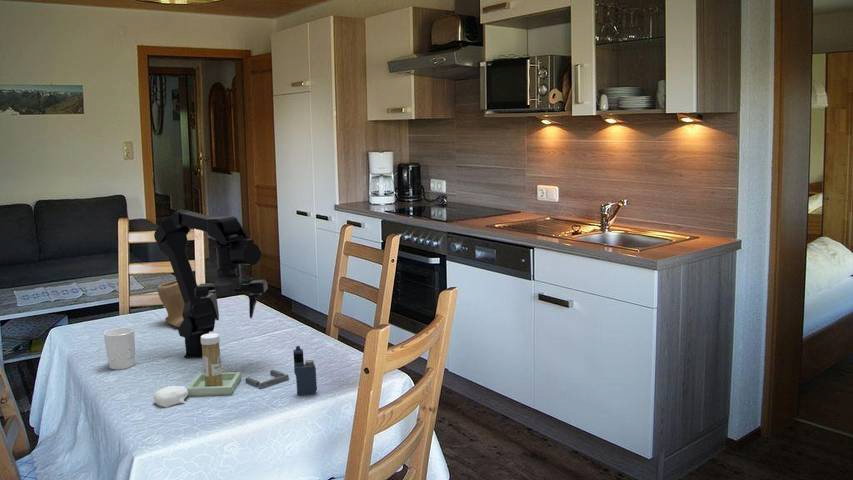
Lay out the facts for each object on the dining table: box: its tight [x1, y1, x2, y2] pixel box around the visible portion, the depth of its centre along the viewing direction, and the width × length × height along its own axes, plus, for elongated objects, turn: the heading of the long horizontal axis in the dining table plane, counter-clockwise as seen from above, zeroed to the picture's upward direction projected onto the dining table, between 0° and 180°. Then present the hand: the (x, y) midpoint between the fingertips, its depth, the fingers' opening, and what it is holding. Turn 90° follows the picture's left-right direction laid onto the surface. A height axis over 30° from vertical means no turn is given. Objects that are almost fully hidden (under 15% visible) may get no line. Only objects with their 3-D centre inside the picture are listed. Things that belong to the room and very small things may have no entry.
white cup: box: [103, 327, 136, 370], centre depth 206 cm, size 8×8×10 cm
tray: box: [186, 371, 242, 397], centre depth 188 cm, size 11×11×2 cm
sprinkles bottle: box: [201, 332, 223, 387], centre depth 187 cm, size 5×5×14 cm
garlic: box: [153, 385, 188, 408], centre depth 179 cm, size 8×7×4 cm
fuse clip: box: [245, 369, 290, 390], centre depth 191 cm, size 7×9×1 cm
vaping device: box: [292, 345, 318, 396], centre depth 181 cm, size 3×5×12 cm, turn 95°
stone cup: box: [156, 279, 184, 328], centre depth 246 cm, size 15×12×15 cm
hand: (234, 319), depth 203 cm, fingers open, 9 cm apart
